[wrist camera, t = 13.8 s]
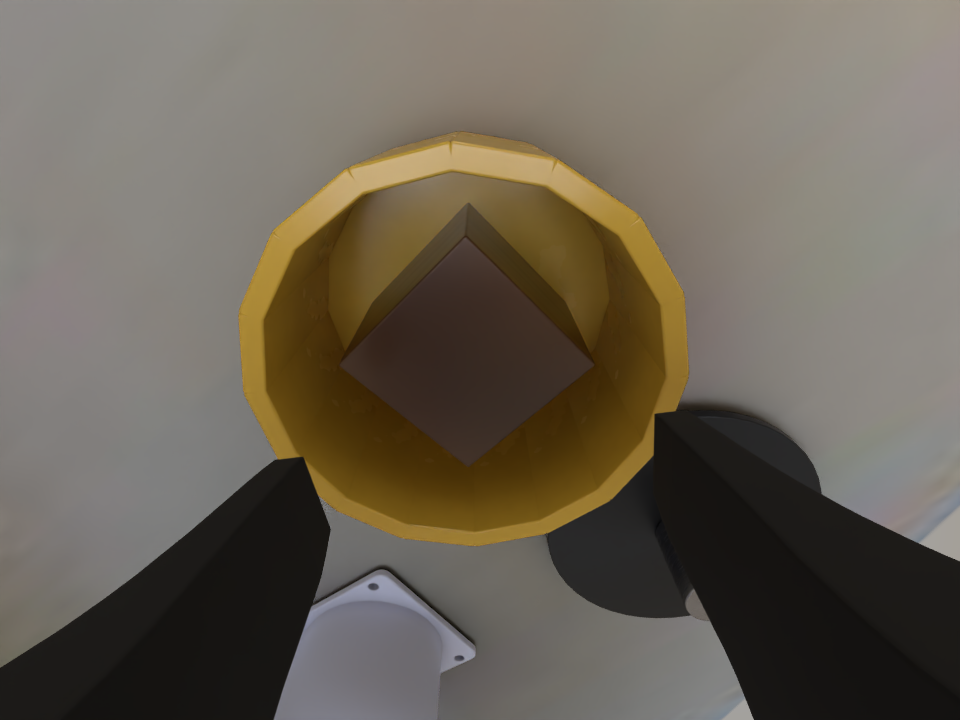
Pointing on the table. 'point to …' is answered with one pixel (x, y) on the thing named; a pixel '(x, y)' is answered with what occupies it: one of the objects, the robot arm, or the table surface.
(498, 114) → the table surface
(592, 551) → the lid
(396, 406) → the block
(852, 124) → the table surface
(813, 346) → the table surface
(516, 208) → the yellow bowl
